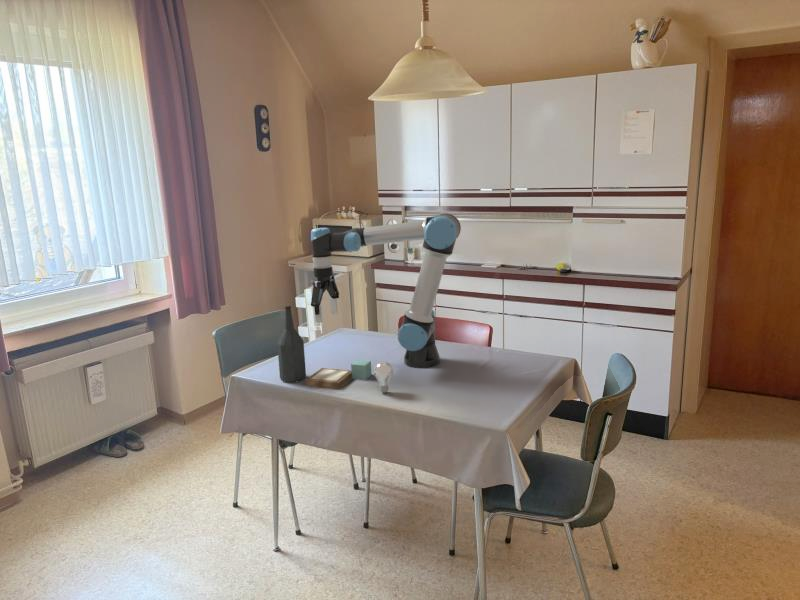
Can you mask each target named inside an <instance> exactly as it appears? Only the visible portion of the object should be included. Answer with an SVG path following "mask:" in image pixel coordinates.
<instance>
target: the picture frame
mask: <svg viewBox="0 0 800 600" xmlns="http://www.w3.org/2000/svg"><path fill="white" fill-rule="evenodd" d="M351 380H353V379H352V372H351V369H350V370H347V369H340V368H339V369H338V368H326V367H325V368H324V367H322V368H320V369H319V370H317V371H316V372H314V373H313V374H312V375H310V376H309V377H307V378H306V379H305V386H306V387H312V388H313V387H315V388H322V389H323V388H324V389H333V390H340V389H341V388H342V387H344V386H345V385H346V384H347V383H349V381H351Z"/></svg>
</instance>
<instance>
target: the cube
mask: <svg viewBox="0 0 800 600" xmlns="http://www.w3.org/2000/svg"><path fill="white" fill-rule="evenodd" d="M350 371H351V372H352V379H351V380H353V379H354V380H361V381H362V380H363V381H366V380H368V379H369V378H370V377H371V376H372V360H367V359H366V360H365V359H356V360H355V361H353V362H352V363H351V364H350Z"/></svg>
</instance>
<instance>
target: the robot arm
mask: <svg viewBox="0 0 800 600" xmlns="http://www.w3.org/2000/svg"><path fill="white" fill-rule="evenodd" d="M461 227H462V226H461V222H460V220H459V218H457V217H456V216H455V215H453V214H451V213H441V214H438V215H435V216H427V217H425V219H424V220H417V221H407V222H399V223H392V224H384V225H376V226H368V227H354V228H351V229H349V230H347V231H343V232H331V231H330V228H328V227H315V228H313V229H312V230H311V232H310V242H311V252H312V262H313V265H312V266H313V275H314V278H317V280H316V281H314V280H313V283H312V286H313V287H312V294H311V299H310V300H311V302H310V306H311V308H313V309H314V319H315V320H314V322H315V323H323V312H322V306H321V303H322V300H323V296H324V293H325V292H326V291H327V293H328V295H329V297H330V298H329V303H330V304H329V305H330V314H331V315H338V314H339V313H338V300H337V299H340V292H339V289H338V286H337V283H336V280H335V275H333V274H334V271H333V270H334V269H333V267H332V266H333V258H332V256H333V255H332V253H339V252H341V253H342V252H343V253H345V252H347V253H352V252H358V251H360V249H361V247H367V246H375V245H376V246H377V245H385V244H392V243H403V242H411V241H422V240H423V243H422V249H423V250H424V255H423V258H422V263H421V266H420V269H419V270H420V271H419V274H418V278H417V280H416V285H415V288H414V292H413V295H412V296H413V297H412V300H411V304H410V307H409V309H408V310H407V311H405V312H404V315H403V319H402V323H401V326H400V327H399V329H398V331H397V341H398V343H399V345H400V346H401V347H402V348H404V349H405V353H404V357H403V361H404V364H405V365H406V366H408V367H412V368H429V367H434V366H437V365H439V364H440V362H441V358H440V357H441V356H440V354H439V351H438V348H437V345H436V315H435V310H433V308H434V306H435V305H434V304H435V301H436V298H437V295H438V291H439V288H440V284H441V280H442V277H443V272H444V269H445V265H446V261H447V259H448V257H450V256H452V255H453V251H454V249H455V246H456V245H455V244H456V241H457V239H458V238H459V236H460V234H461V231H462V230H461V229H462V228H461Z"/></svg>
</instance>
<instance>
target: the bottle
mask: <svg viewBox="0 0 800 600" xmlns="http://www.w3.org/2000/svg"><path fill="white" fill-rule="evenodd" d="M291 308H292V306H291V305H289V304H288V305H284V329H283V331H282V333H281V335H280V337H279V339H278V341H277V342H276V345H277V358H278V370H279V371H278V372H279V378H280V380H281V381H282V380H283V381H282V382H284V381H285V382H284V383H287V382H289V383H297V382H296V381H298V382H301V380H302V381H303V380H305V378H306V377H307V372H306V357H305V354H306V353H305V344H304V343H305V342H304V339H303V338H302V337H301V335H300V334H299V332H298V331H297V330H296V329H295V325H294V319H293V314H292V309H291Z"/></svg>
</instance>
